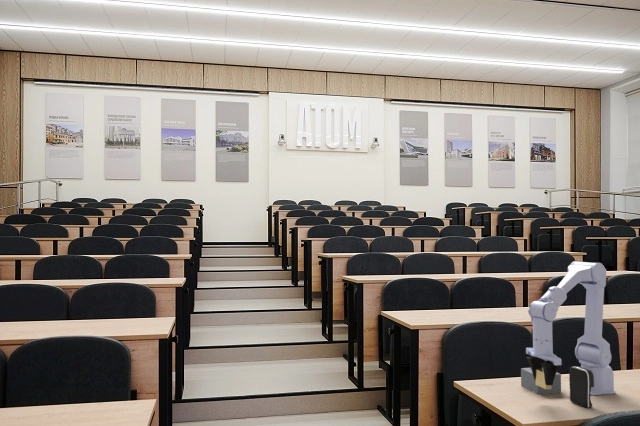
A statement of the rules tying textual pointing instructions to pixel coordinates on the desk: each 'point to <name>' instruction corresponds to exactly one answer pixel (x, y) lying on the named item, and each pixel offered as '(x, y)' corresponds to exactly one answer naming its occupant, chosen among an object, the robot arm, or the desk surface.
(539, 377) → the beige flat block
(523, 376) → the coin box
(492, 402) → the desk surface
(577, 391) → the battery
